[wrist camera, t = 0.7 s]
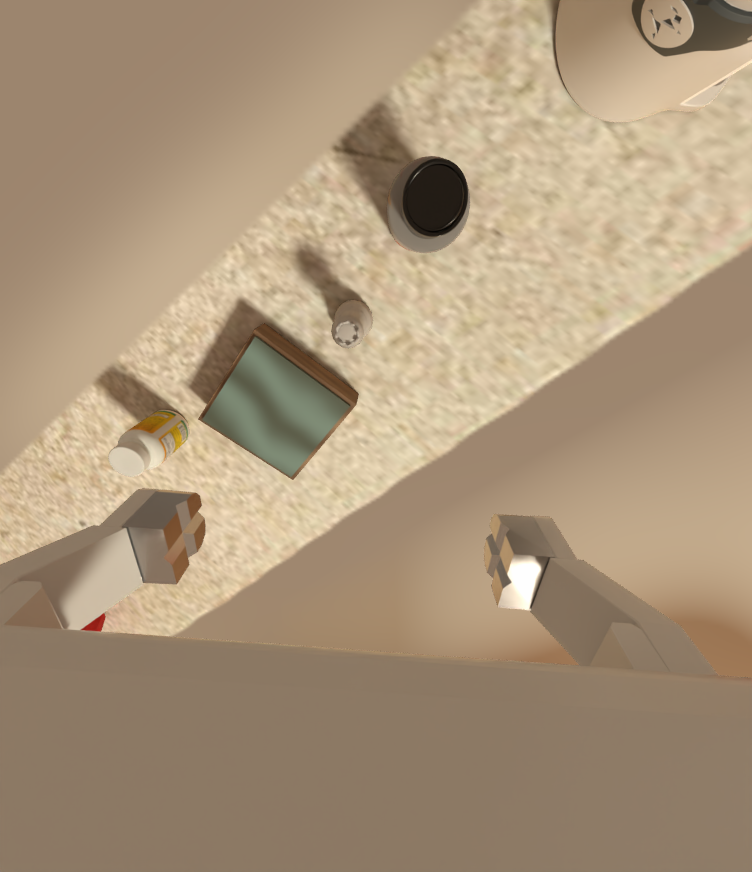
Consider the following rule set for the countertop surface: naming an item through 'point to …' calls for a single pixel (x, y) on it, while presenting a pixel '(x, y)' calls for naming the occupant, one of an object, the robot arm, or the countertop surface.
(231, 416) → the walnut plinth
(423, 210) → the lotion bottle
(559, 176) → the countertop surface
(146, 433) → the supplement bottle
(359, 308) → the rook chess piece
